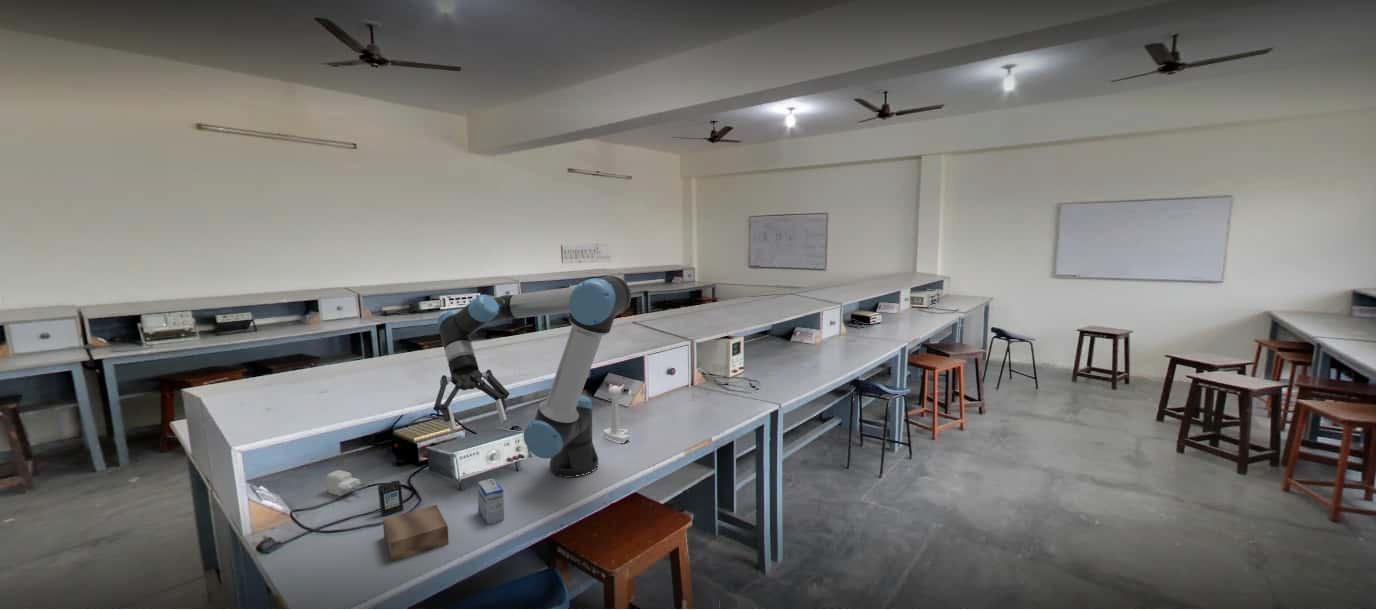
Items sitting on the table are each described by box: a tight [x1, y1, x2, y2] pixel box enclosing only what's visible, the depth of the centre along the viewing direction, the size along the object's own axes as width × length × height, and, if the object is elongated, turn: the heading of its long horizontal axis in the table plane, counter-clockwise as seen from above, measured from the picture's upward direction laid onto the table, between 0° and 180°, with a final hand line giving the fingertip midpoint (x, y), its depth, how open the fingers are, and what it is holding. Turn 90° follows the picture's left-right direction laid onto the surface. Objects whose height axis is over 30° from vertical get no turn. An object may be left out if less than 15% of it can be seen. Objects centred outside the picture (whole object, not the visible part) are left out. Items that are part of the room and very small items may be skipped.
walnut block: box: [382, 504, 449, 563], centre depth 128 cm, size 12×12×5 cm
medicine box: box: [477, 478, 505, 526], centre depth 139 cm, size 8×4×9 cm, turn 37°
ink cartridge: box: [377, 479, 404, 517], centre depth 140 cm, size 5×2×8 cm, turn 131°
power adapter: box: [326, 469, 366, 497], centre depth 150 cm, size 11×5×6 cm, turn 69°
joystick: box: [602, 385, 631, 442], centre depth 191 cm, size 11×8×20 cm
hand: (479, 426), depth 145 cm, fingers open, 13 cm apart
